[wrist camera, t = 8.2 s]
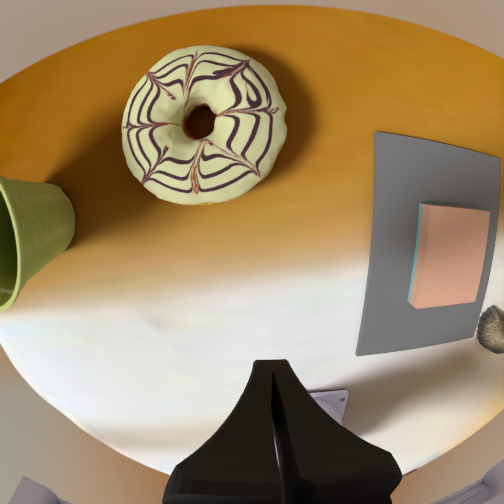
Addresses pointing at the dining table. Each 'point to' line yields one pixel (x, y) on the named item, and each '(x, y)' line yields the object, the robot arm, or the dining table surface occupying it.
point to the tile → (448, 255)
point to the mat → (405, 234)
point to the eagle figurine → (491, 331)
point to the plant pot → (30, 232)
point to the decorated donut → (223, 136)
